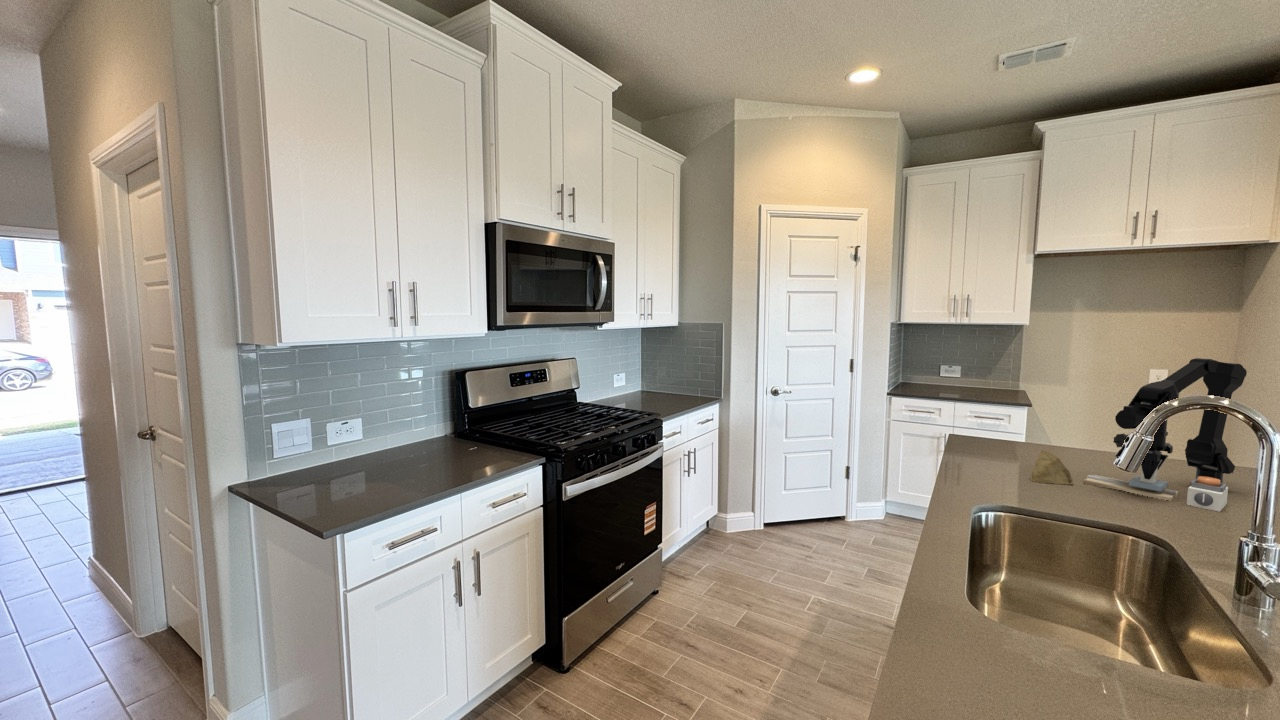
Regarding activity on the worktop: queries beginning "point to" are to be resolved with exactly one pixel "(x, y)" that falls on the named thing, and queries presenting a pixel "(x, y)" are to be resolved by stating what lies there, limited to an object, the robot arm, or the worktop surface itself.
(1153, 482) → the carriage
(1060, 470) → the rock
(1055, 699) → the worktop surface
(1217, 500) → the gauge cabinet
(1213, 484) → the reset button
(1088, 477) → the rail
